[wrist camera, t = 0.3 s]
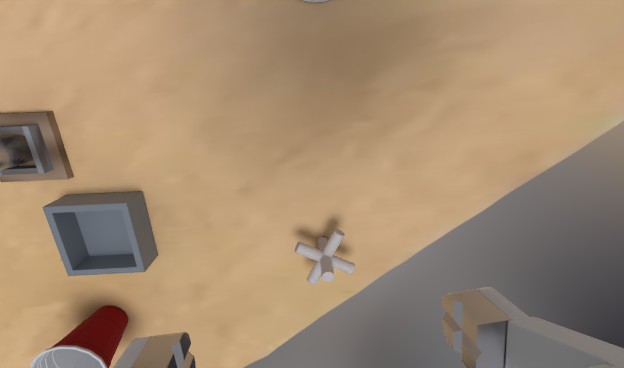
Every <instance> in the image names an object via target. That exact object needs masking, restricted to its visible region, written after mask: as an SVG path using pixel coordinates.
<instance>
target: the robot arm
mask: <svg viewBox="0 0 624 368" xmlns="http://www.w3.org/2000/svg"><path fill="white" fill-rule="evenodd" d="M303 1H307V2H324V1H329V0H303ZM443 307H444V308H445V309H446V311H447V312H446V314H445V315H444V317H443V329H444V333H445V337H446V339H447V341H448V343H449V344H450V346H451V347H452V349H453V350H455V351H456V352H458V353H460V354H462V362H463V364H464V365H465V366H466V368H624V349H623V348H620V347H617V346H615V345H612V344H609V343H606V342H603V341H600V340H598V339H595V338H592V337H589V336H587V335H584V334H581V333H578V332H576V331H573V330H570V329H567V328H564V327H562V326H558V325H556V324H553V323H550V322H548V321H545V320H542V319H539V318H536V317H531V318H529V317H528V316H527V315H526V314H525V313H523V312H522V311H521V310H520V309H518V308H517V307H516V306H515V305H514V304H512V303H511V302H510V301H508V300H507V299H506V298H505V297H504V296H502V295H501V294H500V293H499V292H497V291H496V290H495V289H494V288H491V287H484V288H479V289H474V290H470V291H464V292H457V293H451V294H445V295H444V296H443ZM190 345H191V341H190V337H189V334H188V333H186V332H182V333H173V334H165V335H157V336H153V337H152V336H150V337H143V338H136V339H135V340H133V341H132V342H131V343H130V344H129V346H128V347H127V349H126V350H125V352H124V353H123V354H122V356H121V357H120V359H119V360H118V362H117V363H116V365H115V366H114V367H113V368H196V366H195V359H194V356H193V355H192V354H191V353H190V352H189V351H188V350H189V347H190Z"/></svg>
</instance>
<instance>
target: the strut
mask: <svg viewBox="0 0 624 368" xmlns="http://www.w3.org/2000/svg"><path fill="white" fill-rule="evenodd" d="M32 160H34V159H33V156H32V153H31V150H30V148H29V145H28V142H27V139H26V137H25V136H22V135H14V136H10V137H5V138H0V171H1V170H4V169H7V168H10V167H14V166H17V165H20V164H23V163H26V162H30V161H32Z"/></svg>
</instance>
